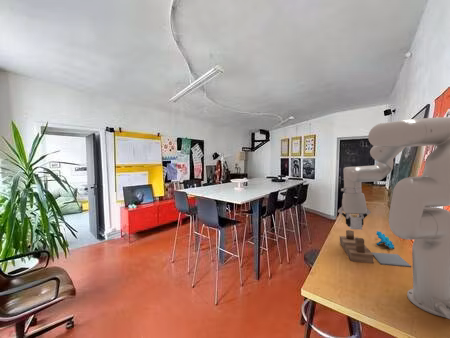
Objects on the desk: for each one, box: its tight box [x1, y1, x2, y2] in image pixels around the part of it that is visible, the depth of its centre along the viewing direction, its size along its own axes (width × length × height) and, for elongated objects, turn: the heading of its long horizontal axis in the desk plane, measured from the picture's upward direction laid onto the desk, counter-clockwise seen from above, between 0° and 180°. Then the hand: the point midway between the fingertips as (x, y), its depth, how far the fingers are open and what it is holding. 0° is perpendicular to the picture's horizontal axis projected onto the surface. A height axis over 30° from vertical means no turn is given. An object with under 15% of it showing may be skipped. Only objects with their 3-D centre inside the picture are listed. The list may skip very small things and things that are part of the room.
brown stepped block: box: [339, 229, 375, 264], centre depth 103 cm, size 22×9×10 cm, turn 162°
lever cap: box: [348, 214, 363, 230], centre depth 102 cm, size 6×5×7 cm
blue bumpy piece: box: [375, 230, 395, 250], centre depth 108 cm, size 11×6×10 cm
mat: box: [371, 251, 412, 268], centre depth 93 cm, size 11×11×1 cm
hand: (354, 225), depth 102 cm, fingers closed on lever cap, 4 cm apart
